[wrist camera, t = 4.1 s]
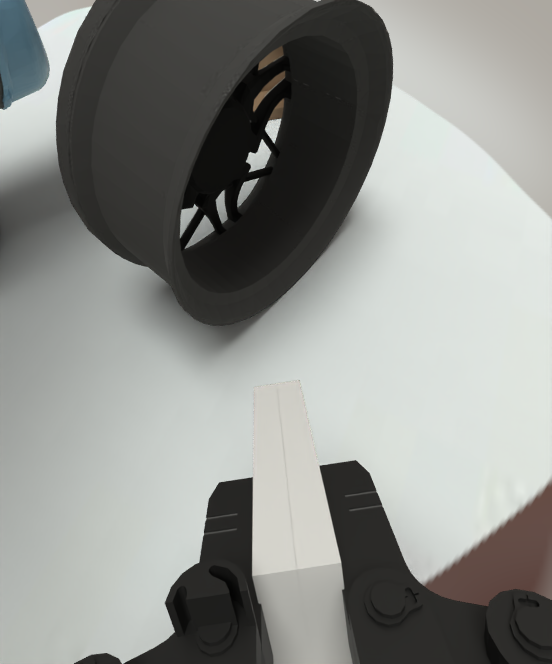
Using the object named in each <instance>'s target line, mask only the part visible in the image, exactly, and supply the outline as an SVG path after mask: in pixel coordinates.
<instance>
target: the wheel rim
mask: <svg viewBox="0 0 552 664" xmlns="http://www.w3.org/2000/svg"><path fill="white" fill-rule="evenodd" d="M281 46H282V47H283V54H284V55H283V56H281V57H280V58H278V59H276V60H275V61H273V62H271V63H270V64H268V65H267V66H265V67H263V68H262V69H260V70H258V68H259V62H260V61H262V60H263V59H264V58H265V57H266V56H267V55H269V54H270V53H271V52H272V51H274V50H276V49H277V48H279V47H281ZM284 71H285V78H284V79H282V80H281V81H280V82H279V83H278V84H277V85H276V86H275V87H273V88H272V89H271V90H270V91H269V92H268V93H267V94H266V95H265V97H264V98H263V99H262V101H261V102H260V104H259V105H258V107H257V108H256V110H255V111H253V106H254V99H255V98H256V97H257V96H258V94H259V93H260V92H261V90H262V89H263V88H264V86H266V85H267V84H268V83H269V82H270V81H271V80H272V79H273V78H274V77H275V76H277V75H279V74H280V73H282V72H284ZM392 81H393V56H392V47H391V42H390V38H389V33H388V31H387V29H386V27H385V24H384V22H383V20H382V19H381V17H380V16H379V15H378V14H377V13H376V12H375V10H374V9H373V8H372V7H370V6H369V5H367V4H365V3H363V2H360V1H358V0H321V1H318V2H316V1H314V0H96V1H95V2H94V4H93V6H92V8H91V9H90V11H89V13H88V15H87V16H86V18H85V20H84V21H83V23H82V25H81V27H80V28H79V30H78V32H77V35H76V37H75V40H74V43H73V46H72V49H71V51H70V54H69V57H68V60H67V62H66V65H65V68H64V71H63V76H62V81H61V86H60V91H59V96H58V105H57V117H56V142H57V152H58V160H59V166H60V170H61V175H62V179H63V182H64V185H65V188H66V190H67V193H68V196H69V198H70V201H71V204H72V205H73V207H74V208H75V210H76V212H77V213H78V215H79V216H80V218H81V219H82V221H83V222H84V224H85V225H86V227H87V229H88V230H89V231H90V232H91V233H92V234H93V235H95V236H96V237H97V238H98V239H99V240H100V241H101V242H102V243H103V244H105V245H106V246H107V247H108V248H109V249H111V250H112V251H113V252H114V253H115V254H117V255H119V256H121V257H122V258H124V259H126V260H128V261H130V262H132V263H135V264H138V265H142V266H146V267H149V268H150V269H151V270H153V271H154V272H155V273H156V274H157V275H159V276H160V277H161V278H162V279H163V280H165V281H166V282H167V283H168V284H169V285H171V286H172V289H173V291H174V293H175V296H176V298H177V300H178V302H179V303H180V305H181V306H182V307H183V309H184V310H185V311H186V312H187V313H188V314H190V315H191V316H192V317H193V318H194V319H196V320H198V321H200V322H202V323H204V324H208V325H213V326H222V325H229V324H233V323H236V322H239V321H242V320H245V319H247V318H249V317H251V316H253V315H255V314H257V313H259V312H260V311H262V310H263V309H265V308H266V307H268V306H269V305H271V304H272V303H273V302H275V301H276V300H277V299H278V298H280V297H281V296H282V295H283V294H284V293H286V292H287V291H288V290H289V289H290V288H291V287H292V286H293V285H294V284H295V283H296V282H297V281H298V280H299V279H300V278H301V277H302V276H303V275H304V274H305V272H306V271H307V270H308V269H309V268H310V267H311V266H312V264H313V263H314V262H315V261H316V259H317V258H318V257H319V256H320V254H321V253H322V252H323V250H324V249H325V248H326V246H327V245H328V243H329V242H330V241H331V239H332V238H333V236H334V235H335V233H336V232H337V230H338V229H339V227H340V225H341V224H342V222H343V221H344V219H345V217H346V216H347V214H348V212H349V210H350V208H351V207H352V205H353V203H354V201H355V199H356V197H357V195H358V193H359V191H360V189H361V187H362V185H363V183H364V181H365V179H366V176H367V174H368V172H369V170H370V167H371V165H372V162H373V159H374V157H375V154H376V151H377V149H378V146H379V143H380V139H381V136H382V133H383V129H384V126H385V122H386V118H387V113H388V108H389V103H390V99H391V90H392ZM282 99H284V106H283V114H282V119H281V124H280V127H279V131H278V135H277V138H276V141H275V144H274V143H273V141H272V140H271V138H270V137H269V136H268V134H267V133H266V131H265V127H266V125H267V123H268V120H269V118H270V116H271V114H272V112H273V110H274V109H275V107H276V106H277V105H278V104H279V102H280V101H281V100H282ZM261 139H263V141H264V142H265V143H266V145H267V146H268V148H269V149H270V151H271V155H270V157H269V160H268V162H267V164H266V167H265V168H263V169H260V170H256V171H252V172H249V170H250V168H251V165H250V164H248V163H247V162H246V160H247V157H248V154H249V152H252V153H256V152H257V151H258V148H259V145H260V142H261ZM248 172H249V173H248ZM257 178H259V180H258V182H257V183H256V185H255V187H254V188H253V190H252V192H251V193H250V195H249V196H248V197H247V198H246V200H245V201H244V202H243V203H242V204H241V205H240V207H239V208H237V200H238V195H239V192H240V190H241V187H242V185H243V183H244V182H246V181H250V180H253V179H257ZM223 190H225V207H226V212H227V217H228V220H227V221H225V222H224V223H223V224H222V223H221V221H220V218H219V215H218V212H217V208H216V201H215V200H216V199H217V197H218V196H219V195H220V193H221V192H222V191H223ZM194 204H195V205H196V206H197V207H198V210H197V211H196V213H195V215H194V216H193V218H192V220H191V221H190V223H189V225H188V226H187V228H186V230H185V231H184V233H183V235H182V236H181V238H180V215H181V210H182V209H187V208H193V206H194ZM204 215H206V216H207V217H208V218H209V220H210V221H211V223H212V225H213V227H214V229H215V231H213V232H212V233H211V234H209V235H208V236H206V237H205V238H204V239H202V240H201V241H199V242H198V243H196V244H194V245H193V246H191V247H189V248H186V249H184V248H185V247H186V245H187V243H188V242H189V240H190V238H191V237H192V235H193V233H194V232H195V230H196V228H197V227H198V225H199V223H200V222H201V220H202V219H203V217H204Z"/></svg>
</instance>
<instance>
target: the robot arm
mask: <svg viewBox="0 0 552 664" xmlns="http://www.w3.org/2000/svg"><path fill="white" fill-rule="evenodd" d="M49 71H50V67H49V61H48V57H47V54H46V51H45V49H44V46H43V43H42V41H41V38H40V36H39V33H38V31H37V28H36V26H35V24H34V21H33V18H32V16H31V14H30V11H29V9H28V7H27V5H26V2H25V0H0V109H3V110H5V109H7V107H10V106H11V103H12V102H14V101H16V100H18V99H21V98H23V97H25V96H27V95H29V94H31V93H34V92H36V91H38V90H40V89H41V88H42V87H43V86H44V85H45V84H46V81H47V79H48V77H49ZM206 518H207V520H206V522H205V529H204V536H203V542H202V549H201V555H200V562H199V563H198V564H195V565H194V566H192V567H191V568H190V569H188V570H187V571H185V572H184V573H182V575H181V576H180V577H179V578H178V579H177V581H176V582H175V583H174V584H173V586H172V587H171V589H170V592H169V594H168V597H167V599H166V602H165V605H166V607H167V610H168V613H169V616H170V619H171V621H172V624H173V627H174V630H175V633H174V634H173V635H171V636H170V637H169V638H168V639H167V640H166V641H164V642H163V643H161V644H160V645H158V646H156V647H155V648H153V649H151V650H149V651H147V652H145V653H143V654H141V655H139V656H137V657H135V658H133V659H131V660H129V661H128V662H126V663H124V664H552V600H550V599H548V598H546V597H544V596H541V595H539V594H537V593H535V592H529V591H524V590H518V589H514V590H509V591H503V592H500V593H499V594H498V595H496V597H494V598H493V599H492V600H490V602H489V606H482V605H477V604H471V603H465V602H460V601H455V600H451V599H447V598H444V597H441V596H439V595H437V594H435V593H433V592H431V591H430V590H428V589H427V588H426V587H424V586H423V585H422V584H421V583H419V582H418V581H417V579H416V578H415V577H414V576H413V575H412V574H411V572H410V571H409V569H408V567H407V565H406V563H405V561H404V558H403V556H402V553H401V551H400V548H399V546H398V543H397V541H396V538H395V536H394V533H393V531H392V528H391V526H390V523H389V521H388V518H387V516H386V513H385V511H384V508H383V507H382V503H381V501H380V498H379V496H378V493H377V492H376V488H375V486H374V483H373V481H372V478H371V476H370V473H369V472H368V471H367V470H366V469H365V468H363V467H362V466H361V465H360V464H359V463H358V462H357V461H356V460H355V461H348V462H342V463H335V464H329V465H322V466H319V463H318V459H317V454H316V450H315V446H314V441H313V437H312V432H311V428H310V424H309V419H308V415H307V411H306V406H305V402H304V397H303V393H302V389H301V384H300V380H296V381H290V382H283V383H277V384H270V385H264V386H257V387H254V429H253V477H252V478H246V479H239V480H232V481H226V482H219V484H218V485H217V487H216V489H215V490H214V492H213V493H212V495H211V497H210V498H209V502H208V509H207V515H206ZM74 664H122V663H121V662H120V660H119V658H116V657H114V656H112V655H110V654H108V653H104V654H94V655H90V656H88V657H86V658H84V659H82V660H80V661H78V662H76V663H74Z"/></svg>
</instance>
